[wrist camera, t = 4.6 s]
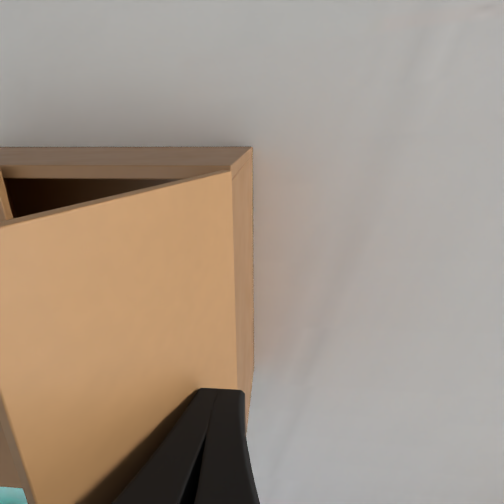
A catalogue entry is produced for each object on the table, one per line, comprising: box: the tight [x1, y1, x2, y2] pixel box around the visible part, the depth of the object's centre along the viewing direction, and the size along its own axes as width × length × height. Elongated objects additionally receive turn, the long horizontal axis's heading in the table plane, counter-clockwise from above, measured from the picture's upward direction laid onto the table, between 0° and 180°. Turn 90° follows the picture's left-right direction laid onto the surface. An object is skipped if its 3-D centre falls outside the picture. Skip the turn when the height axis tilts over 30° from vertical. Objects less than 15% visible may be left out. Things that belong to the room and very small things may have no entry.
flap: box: [0, 170, 237, 504], centre depth 9 cm, size 6×13×1 cm
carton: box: [0, 147, 254, 488], centre depth 16 cm, size 13×13×8 cm
